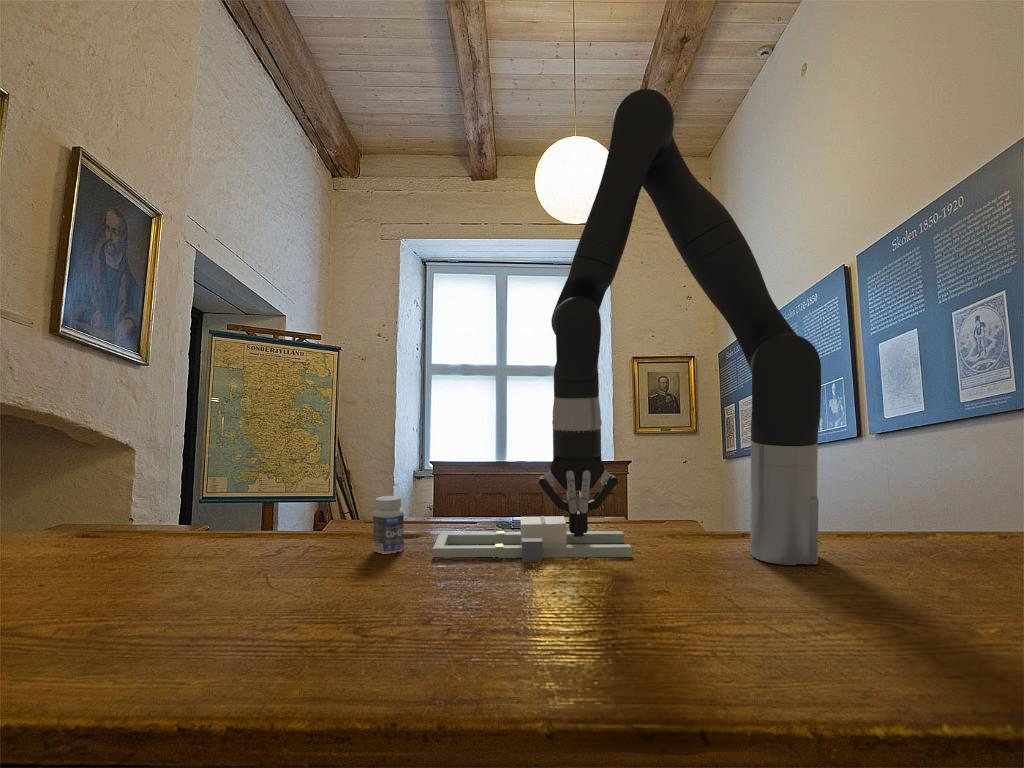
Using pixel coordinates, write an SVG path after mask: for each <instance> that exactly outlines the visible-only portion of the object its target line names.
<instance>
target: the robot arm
mask: <svg viewBox="0 0 1024 768" xmlns="http://www.w3.org/2000/svg"><path fill="white" fill-rule="evenodd" d="M674 122H675V117H674V112H673V107H672V104H671V103H670V101H669V100H668V98H667V97H666V96H665V95H664V94H663V93H661V92H660V91H658V90H655V89H650V88H641V89H636V90H635V91H633V92H631V93H628V94H627V95H626V96H625V97H624V98H623V99H622V100H621V101H620V103H619V104H618V105H617V107H616V110H615V111H614V114H613V119H612V131H611V137H610V143H609V148H608V154H607V157H606V162H605V166H604V168H603V172H602V177H601V180H600V183H599V185H598V189H597V191H596V195H595V198H594V201H593V203H592V206H591V208H590V212H589V214H588V216H587V219H586V222H585V225H584V227H583V231H582V233H581V236H580V237H579V242H578V244H577V247H576V249H575V252H574V256H573V259H572V262H571V265H570V269H569V273H568V277H567V278H566V280H565V282H564V285H563V288H562V290H561V292H560V294H559V296H558V299H557V302H556V304H555V306H554V309H553V311H552V316H551V329H552V332H553V333H554V335H555V345H556V346H555V349H556V362H555V365H554V369H553V406H552V423H551V425H552V454H553V455H552V456H553V457H552V462H551V463H550V466H549V471H547V472H546V473H545V474H543V475H540V476H539V477H538V481H537V482H538V484H539V486H540V487H541V489H542V491H544V493H545V494H546V495H547V496H548V497H549V498H550V500H551V501H552V502H553V504H555V506H556V507H557V509H558V510H560V511H566V512H567V513H568V528H569V532H571V533H573V534H574V537H583V536H584V533H587V532H588V531H589V529H588V528H589V527H588V524H589V523H588V522H589V521H588V517H589V516H588V514H589V512H591V511H593V510H598V509H599V508H600V506H601V505H602V504H603V503H604V502H605V500H606V499H607V497H608V496H609V495H610V494H611V493H612V491H613V490H614V489H615V487H616V486H617V484H618V483H619V481H618V478H617V477H616V476H615V475H614V474H612V473H610V472H608V471H607V470H605V469H606V466H605V464H604V463H603V461H602V425H603V424H602V421H603V420H602V416H601V415H602V413H601V405H600V398H599V396H600V387H599V386H600V383H599V382H600V380H599V356H600V347H601V338H602V337H601V336H602V320H601V313H600V309H601V306H602V303H603V300H604V296H605V295H606V292H607V290H608V288H609V287H610V286H611V285H612V283H613V281H614V279H615V276H616V273H617V271H618V269H619V265H620V262H621V259H622V257H623V254H624V251H625V248H626V245H627V242H628V238H629V234H630V231H631V227H632V223H633V219H634V216H635V213H636V208H637V204H638V200H639V197H640V193H641V190H642V188H643V189H644V191H645V192H646V193H647V195H648V196H649V198H650V200H651V202H652V203H653V204H654V207H655V209H656V211H657V213H658V216H659V217H660V219H661V221H662V223H663V225H664V227H665V230H666V231H667V233H668V235H669V237H670V239H671V241H672V242H673V244H674V246H675V248H676V250H677V252H678V253H679V256H680V257H681V259H682V260H683V263H685V265H686V267H687V268H688V270H689V272H690V273H691V275H692V276H693V278H694V280H695V281H696V282H697V284H698V285H699V287H700V288H701V290H702V291H703V292H704V294H705V295H706V297H707V298H708V300H709V301H710V302H711V303H712V304H713V305H714V307H715V308H716V309H717V310H718V311H719V313H720V315H721V316H722V317H723V319H724V320H725V321H726V322H727V324H728V326H729V327H730V329H731V331H732V333H733V334H734V336H735V337H734V338H736V340H737V342H738V345H739V346H740V349H741V351H742V353H743V356H744V357H745V359H746V362H747V365H748V367H749V369H750V373H751V418H750V419H751V420H750V421H751V422H750V537H749V538H750V539H749V540H750V542H749V543H750V550H749V551H750V555H751V556H752V557H753V558H755V559H757V560H759V561H762V562H765V563H771V564H776V565H785V566H786V565H787V566H797V565H796V564H805V563H817V564H818V565H819V498H818V457H819V455H818V453H819V452H818V449H819V448H818V446H819V445H818V441H819V440H818V439H819V438H818V437H819V428H820V424H821V404H822V403H821V401H822V400H821V399H822V393H821V392H822V364H821V363H822V361H821V358H820V355H819V352H818V349H816V348H817V347H815V346H814V345H813V344H812V342H810V341H809V340H808V339H807V338H805V337H803V336H801V335H798V334H797V333H796V332H795V330H794V329H793V328H792V327H791V325H790V324H789V323H788V321H787V320H786V319H785V317H784V315H783V314H782V313H781V312H780V310H779V308H778V307H777V305H776V304H775V302H774V301H773V299H772V297H771V295H770V292H769V290H768V288H767V285H766V282H765V279H764V277H763V274H762V272H761V270H760V267H759V264H758V261H757V259H756V257H755V256H754V253H753V251H752V249H751V247H750V246H749V243H748V241H747V239H746V238H745V236H744V234H743V233H742V230H741V229H740V228H739V227H738V225H737V224H738V223H736V222H735V219H734V218H733V216H732V215H731V214H730V212H729V211H728V210H727V208H726V207H725V206H724V205H723V203H721V202H720V200H719V199H718V198H717V197H716V196H715V195H714V194H713V193H711V192H710V190H709V189H707V188H706V187H705V186H703V184H701V182H699V181H698V179H697V178H696V177H695V176H694V174H693V173H692V171H691V170H690V168H689V167H688V166H687V163H686V161H685V159H684V158H683V155H682V154H681V152H680V149H679V148H678V145H677V144H676V143H677V142H676V141H675V139H674V134H673V132H674V124H675V123H674ZM554 478H555V480H556V481H557V482H558V484H559V485H560V486H561V489H563V490H565V491H566V497H567V499H566V500H564V499H563V498H562V496H561V495H560V494H559V493H558V491H557V490H556V489H555V488H554V485H555V481H554ZM600 478H601V480H600V483H601V485H600V487H599V489H598V490H597V491H596V492H595V494H594V495H593V496H592V498H591V499H590V490H592V489H593V488H594V486H595V485H596V484H597V483H598V481H599V479H600ZM577 491H578V492H579V495H578V496H579V498H578V507H577V494H576V492H577Z"/></svg>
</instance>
